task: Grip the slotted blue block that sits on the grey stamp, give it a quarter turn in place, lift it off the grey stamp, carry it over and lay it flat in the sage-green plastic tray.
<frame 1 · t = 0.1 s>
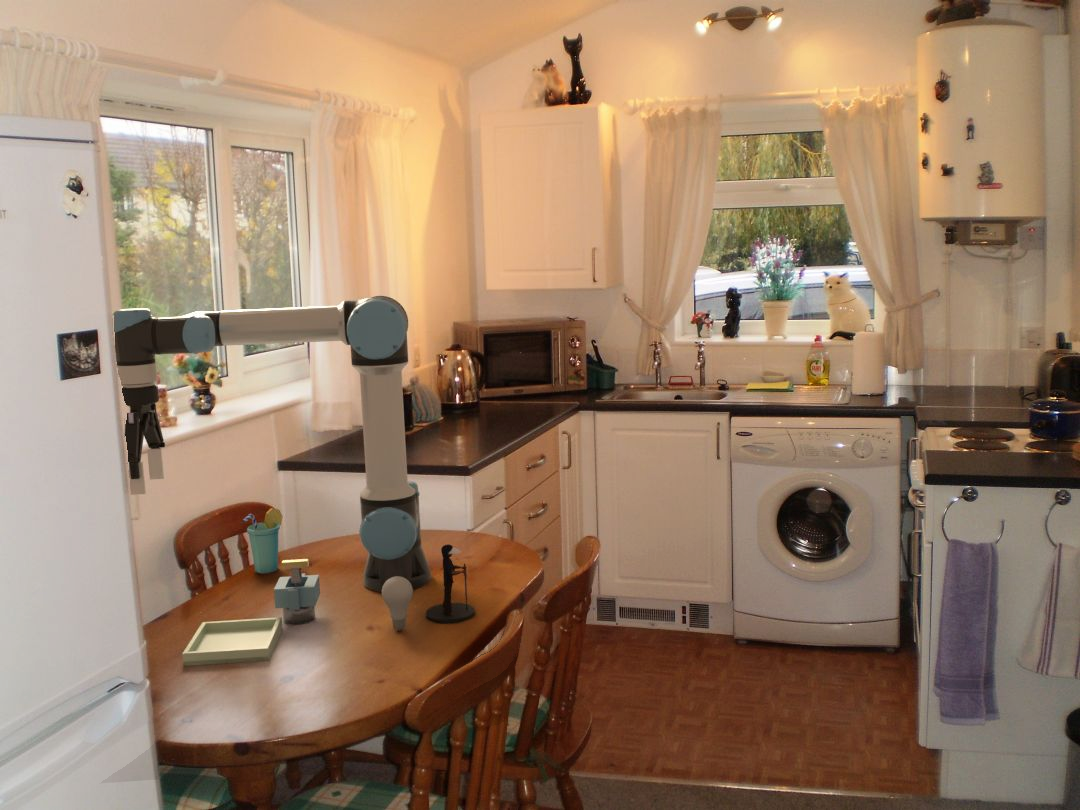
hand: (147, 486, 227), 28 cm above the table, fingers open, 13 cm apart
figurine: (450, 616, 226), on the table
tray: (235, 646, 213), on the table
cup: (264, 571, 260), on the table
slotted blue block: (298, 600, 226), point 4 cm above the table, touching grey stamp
lightbulb: (399, 631, 218), on the table
grey stamp: (299, 619, 226), on the table
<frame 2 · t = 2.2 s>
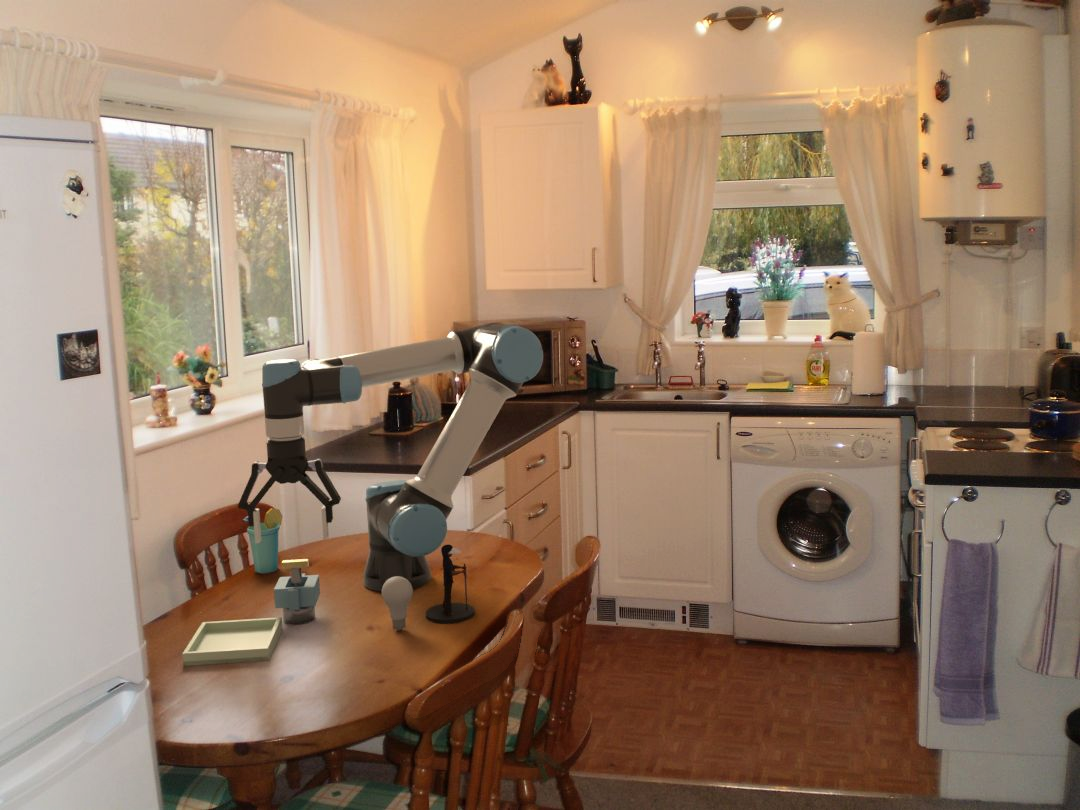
hand: (292, 539, 224), 17 cm above the table, fingers open, 13 cm apart
nothing on the table moved.
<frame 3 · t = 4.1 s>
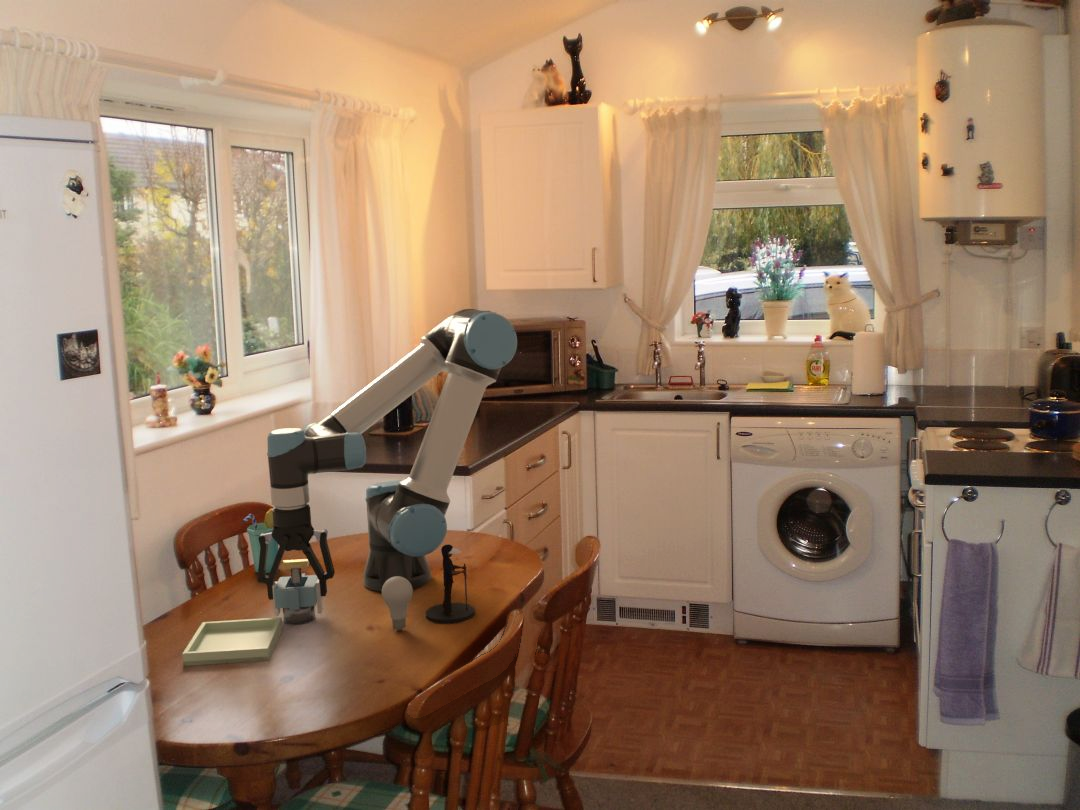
hand: (299, 612, 226), 1 cm above the table, fingers closed on slotted blue block, 8 cm apart
slotted blue block: (298, 600, 226), point 4 cm above the table, touching gripper, grey stamp
everything else where it was.
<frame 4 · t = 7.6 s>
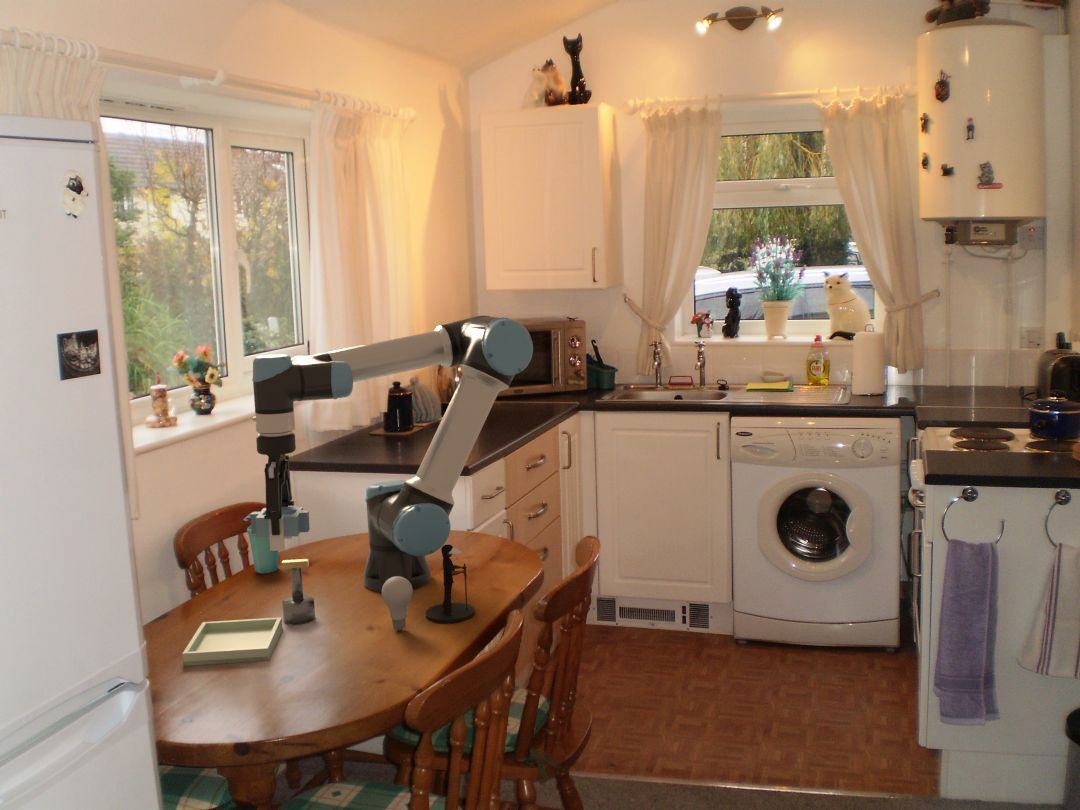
hand: (281, 543, 222), 17 cm above the table, fingers closed on slotted blue block, 8 cm apart
slotted blue block: (280, 531, 221), point 19 cm above the table, touching gripper
everything else where it was.
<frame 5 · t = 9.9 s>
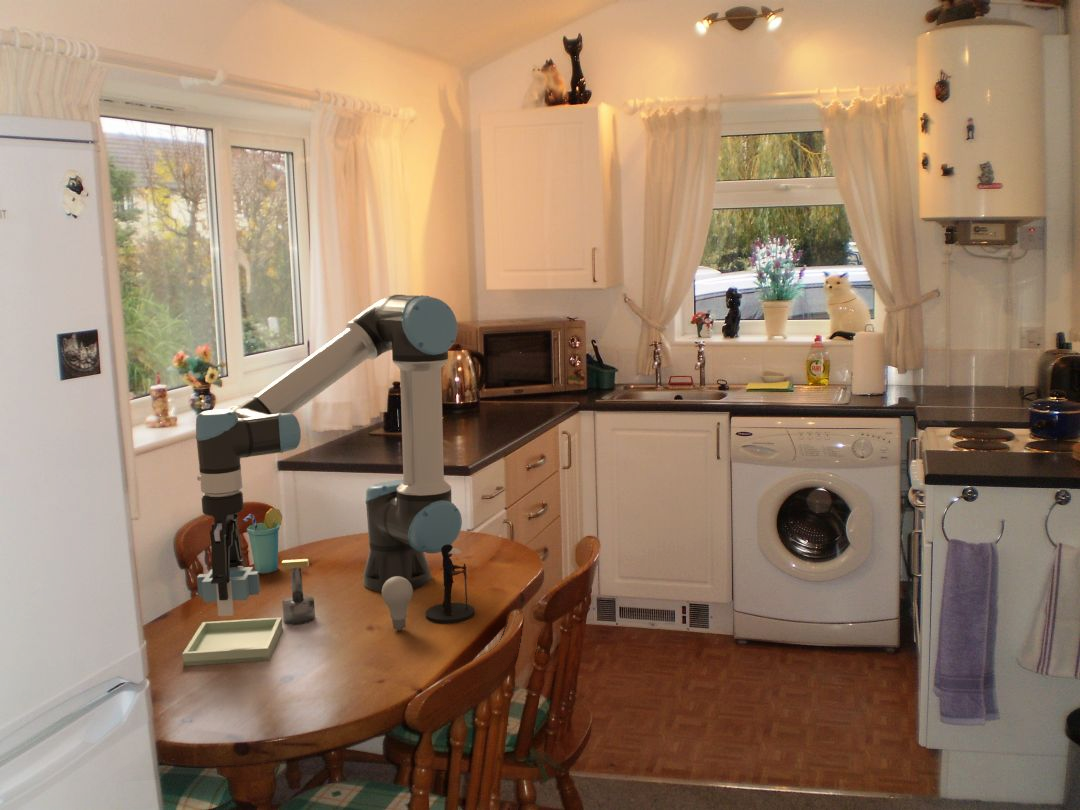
hand: (230, 607, 211), 8 cm above the table, fingers closed on slotted blue block, 8 cm apart
slotted blue block: (229, 594, 211), point 11 cm above the table, touching gripper
everything else where it was.
when the fingers open (2 cm above the table, at t = 11.4 s): slotted blue block drops 4 cm, resting on tray.
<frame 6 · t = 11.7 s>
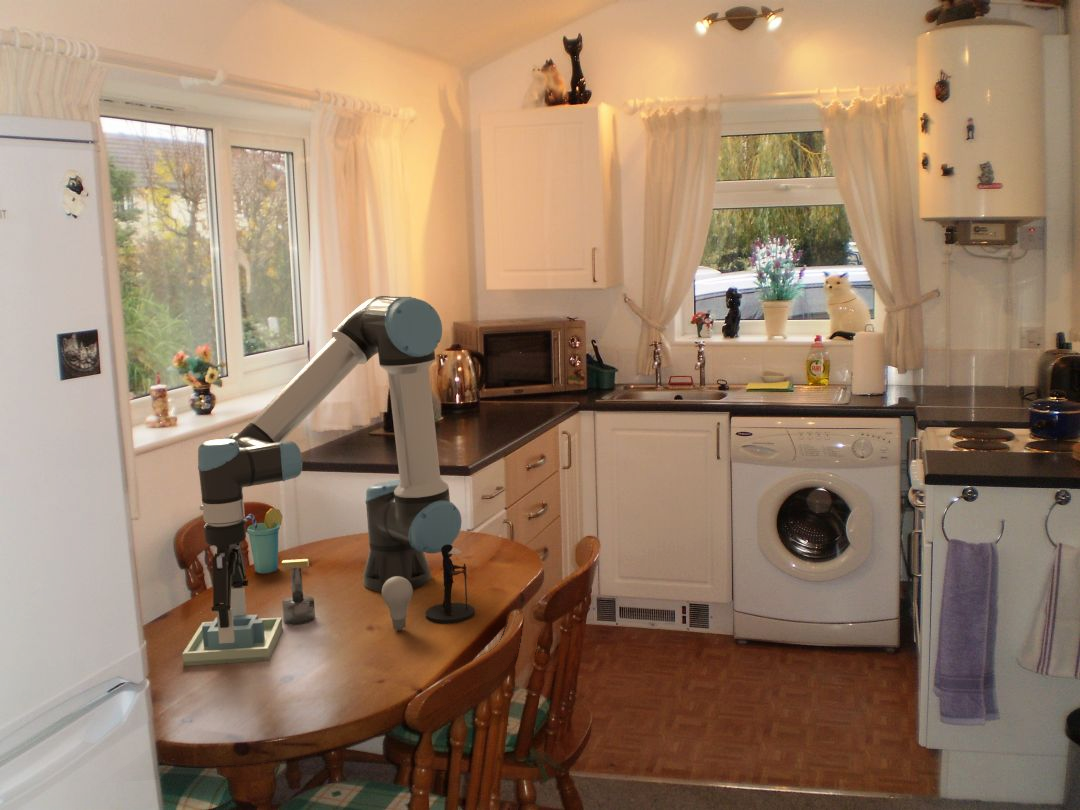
hand: (233, 630, 212), 3 cm above the table, fingers open, 11 cm apart
slotted blue block: (234, 642, 212), point 1 cm above the table, touching tray
everything else where it was.
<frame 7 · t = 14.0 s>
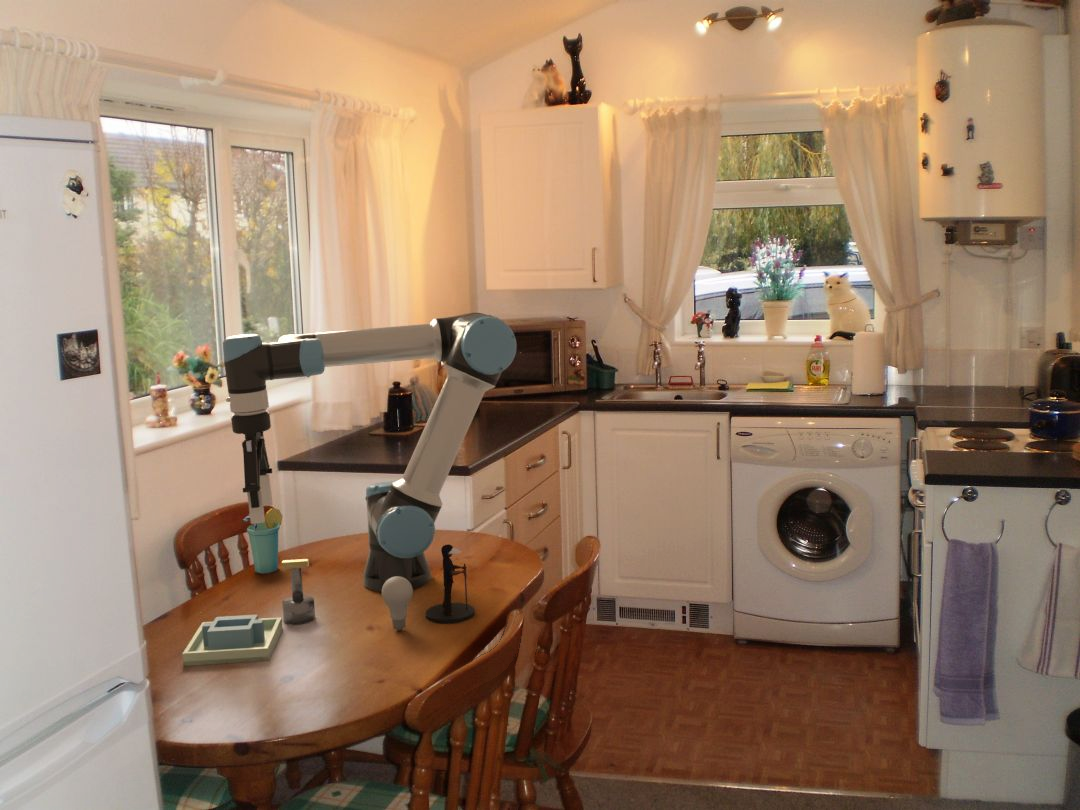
hand: (262, 514, 225), 22 cm above the table, fingers open, 13 cm apart
nothing on the table moved.
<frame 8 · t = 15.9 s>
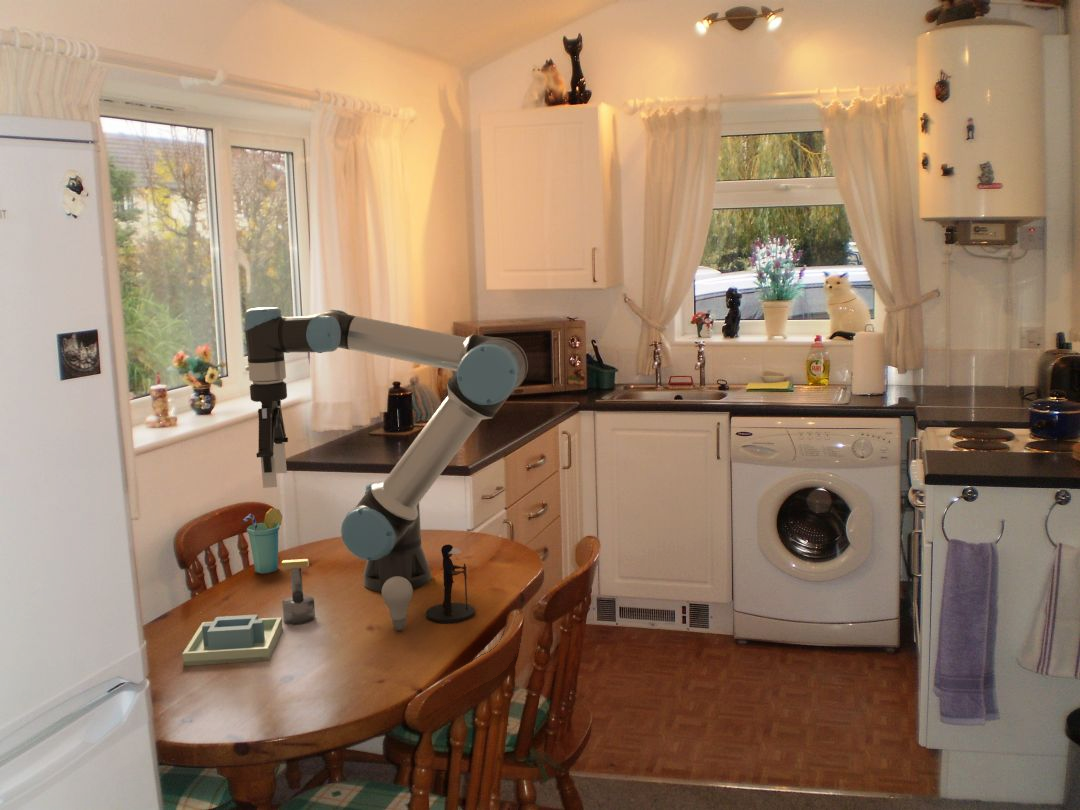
hand: (275, 479, 235), 27 cm above the table, fingers open, 13 cm apart
nothing on the table moved.
at the end: slotted blue block inside the target area on the tray (0.0 cm from its centre), point 0.8 cm above the tray's base; slotted blue block tilted 0°; slotted blue block touching tray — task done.
